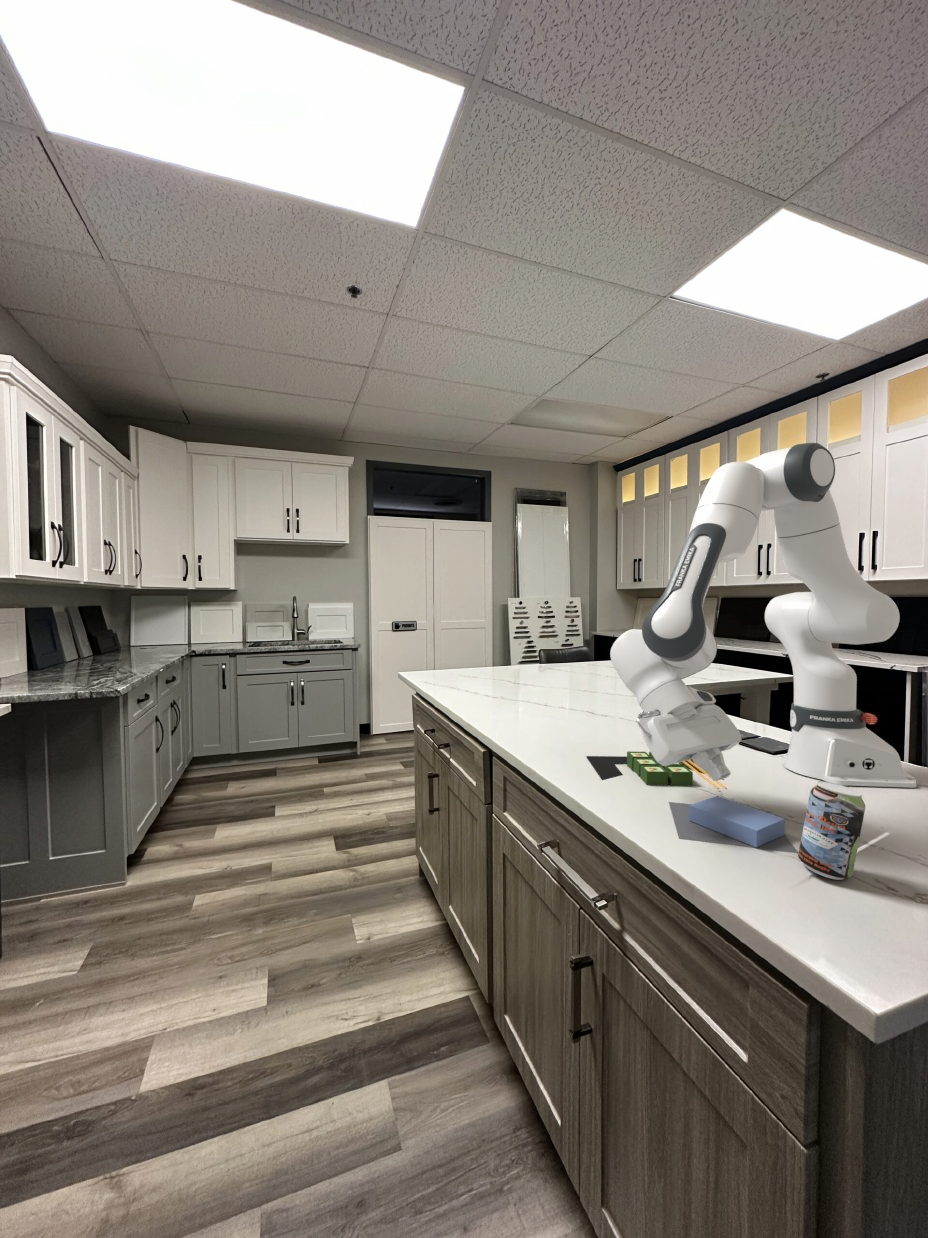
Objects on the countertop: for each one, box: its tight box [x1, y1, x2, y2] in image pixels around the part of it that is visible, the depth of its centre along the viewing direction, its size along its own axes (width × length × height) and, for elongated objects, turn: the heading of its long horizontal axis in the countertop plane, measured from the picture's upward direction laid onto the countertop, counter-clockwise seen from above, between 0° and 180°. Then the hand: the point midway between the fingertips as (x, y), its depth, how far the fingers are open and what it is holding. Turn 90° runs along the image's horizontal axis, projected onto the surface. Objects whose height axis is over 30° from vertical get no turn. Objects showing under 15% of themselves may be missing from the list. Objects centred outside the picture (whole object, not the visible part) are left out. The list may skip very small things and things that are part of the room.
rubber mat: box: [668, 801, 799, 854], centre depth 83 cm, size 16×15×1 cm
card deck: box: [689, 795, 786, 847], centre depth 81 cm, size 3×8×11 cm
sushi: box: [585, 751, 728, 790], centre depth 108 cm, size 25×25×4 cm
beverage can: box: [797, 780, 866, 881], centre depth 68 cm, size 6×7×12 cm
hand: (723, 778), depth 83 cm, fingers closed
